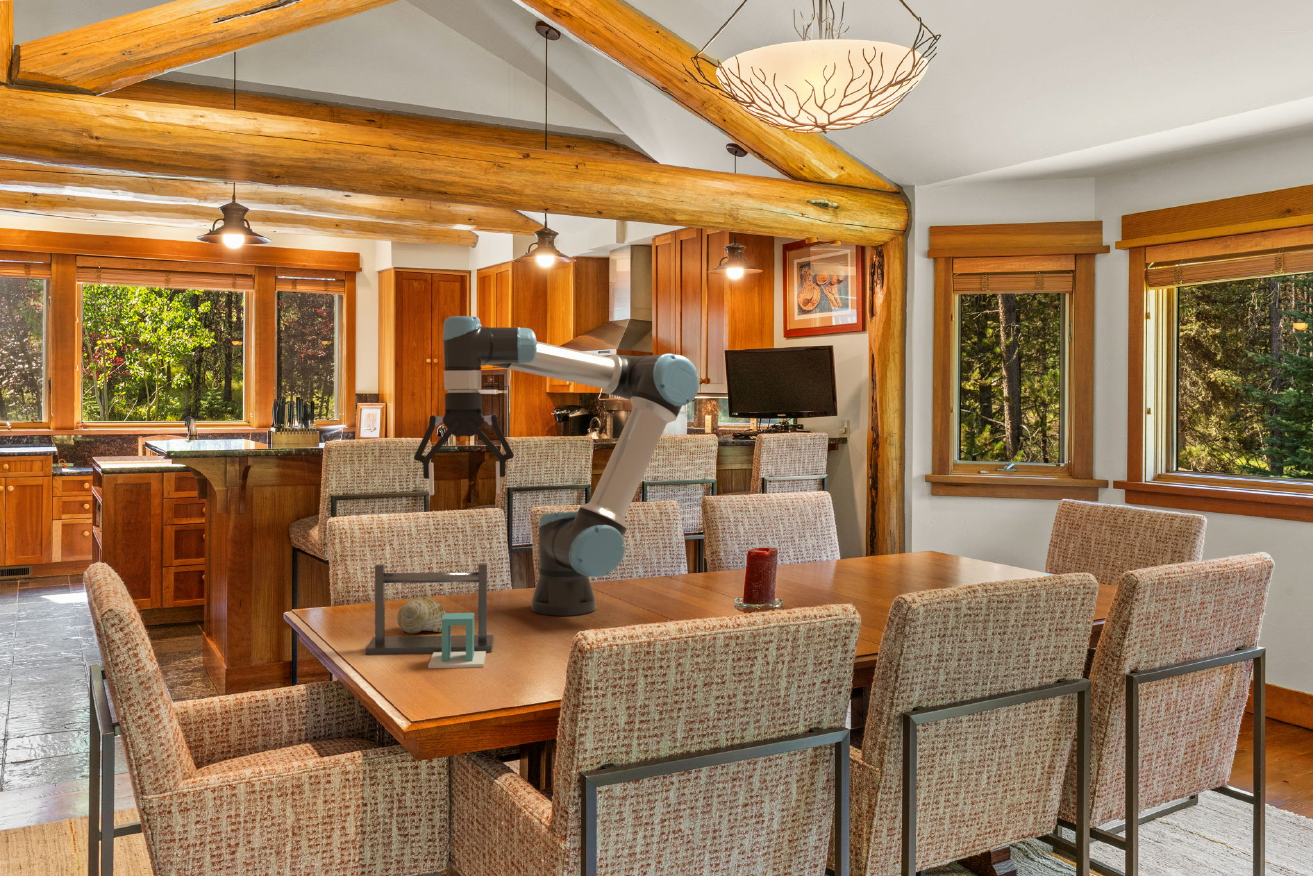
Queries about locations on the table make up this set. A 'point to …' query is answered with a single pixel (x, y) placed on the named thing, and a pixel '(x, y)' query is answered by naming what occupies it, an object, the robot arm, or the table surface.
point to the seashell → (421, 615)
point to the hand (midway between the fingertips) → (465, 493)
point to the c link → (446, 633)
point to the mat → (457, 660)
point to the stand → (427, 643)
